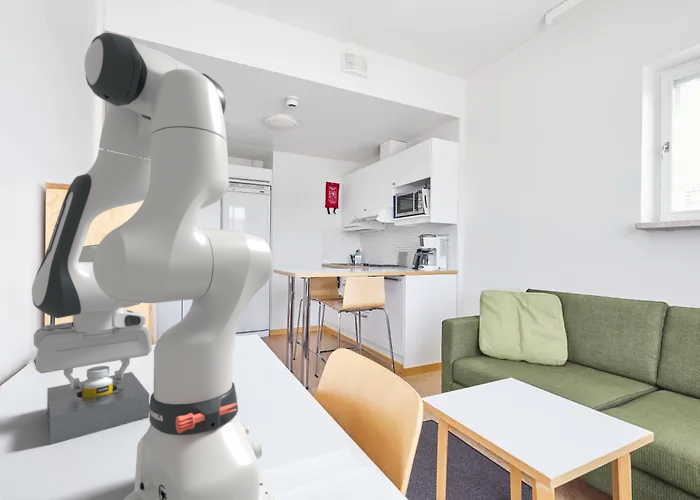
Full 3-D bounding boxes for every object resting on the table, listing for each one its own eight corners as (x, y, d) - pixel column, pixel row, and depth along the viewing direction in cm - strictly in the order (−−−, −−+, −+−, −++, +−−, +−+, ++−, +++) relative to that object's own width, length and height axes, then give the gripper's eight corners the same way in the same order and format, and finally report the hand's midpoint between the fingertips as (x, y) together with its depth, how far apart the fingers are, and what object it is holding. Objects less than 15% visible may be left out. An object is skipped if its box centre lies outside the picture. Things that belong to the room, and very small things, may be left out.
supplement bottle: (96, 421, 73) (96, 373, 73) (74, 418, 74) (75, 371, 74) (118, 409, 78) (119, 365, 78) (98, 407, 79) (98, 363, 79)
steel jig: (148, 417, 74) (149, 393, 75) (50, 444, 64) (50, 417, 64) (131, 391, 88) (131, 371, 88) (47, 410, 77) (47, 388, 77)
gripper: (33, 328, 67) (32, 401, 67) (153, 316, 80) (153, 376, 80) (33, 323, 71) (32, 391, 71) (147, 312, 85) (146, 369, 85)
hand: (97, 383), depth 76 cm, fingers open, 6 cm apart
